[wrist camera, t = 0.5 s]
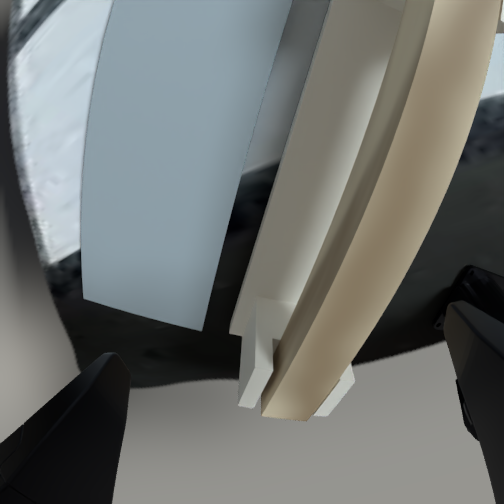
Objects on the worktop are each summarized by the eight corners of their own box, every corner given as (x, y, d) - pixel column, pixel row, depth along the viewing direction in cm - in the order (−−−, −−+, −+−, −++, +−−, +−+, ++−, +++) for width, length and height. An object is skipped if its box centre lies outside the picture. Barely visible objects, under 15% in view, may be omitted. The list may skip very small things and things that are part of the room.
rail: (471, -37, 7) (504, -49, 5) (303, 385, 21) (306, 421, 18) (421, -68, 7) (449, -88, 4) (261, 379, 20) (261, 416, 18)
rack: (460, 0, 12) (534, -15, 5) (325, 341, 25) (340, 417, 19) (348, -57, 11) (390, -112, 4) (230, 322, 24) (221, 403, 18)
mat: (319, -78, 10) (320, -82, 10) (202, 326, 25) (201, 331, 24) (159, -98, 9) (157, -102, 9) (86, 294, 24) (83, 298, 23)
